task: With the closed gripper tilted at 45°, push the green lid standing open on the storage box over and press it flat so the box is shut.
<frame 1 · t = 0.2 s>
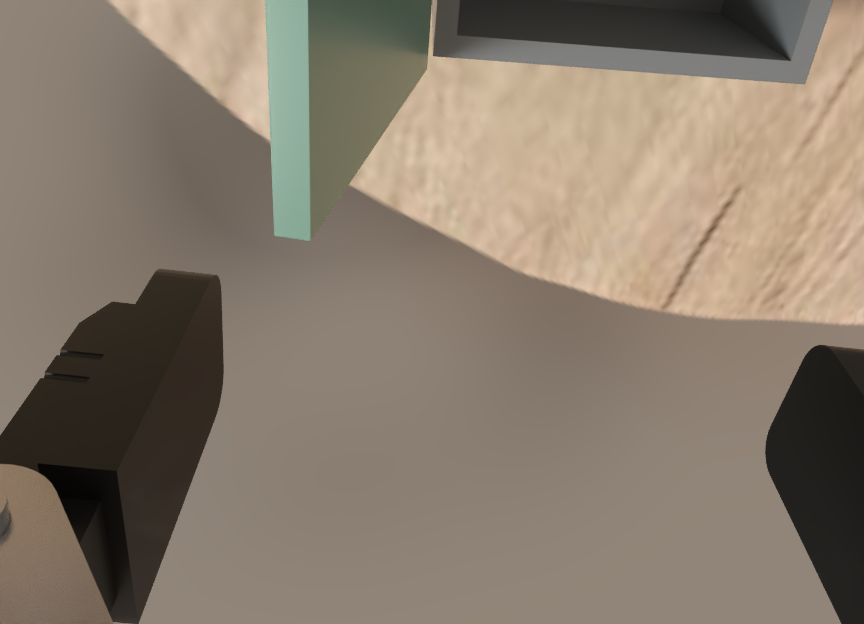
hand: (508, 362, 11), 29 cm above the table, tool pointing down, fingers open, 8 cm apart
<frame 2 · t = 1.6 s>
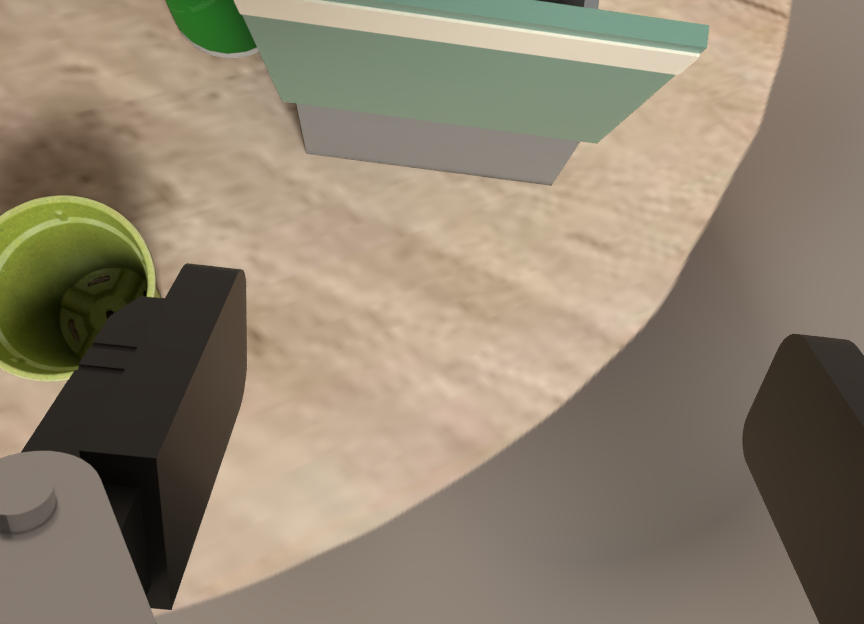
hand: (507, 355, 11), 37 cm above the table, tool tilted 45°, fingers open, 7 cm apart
storage box: (441, 71, 51), on the table
soda can: (234, 16, 51), on the table
lid: (453, 72, 34), point 16 cm above the table, hinge at 100.0°
plant pot: (114, 318, 47), on the table
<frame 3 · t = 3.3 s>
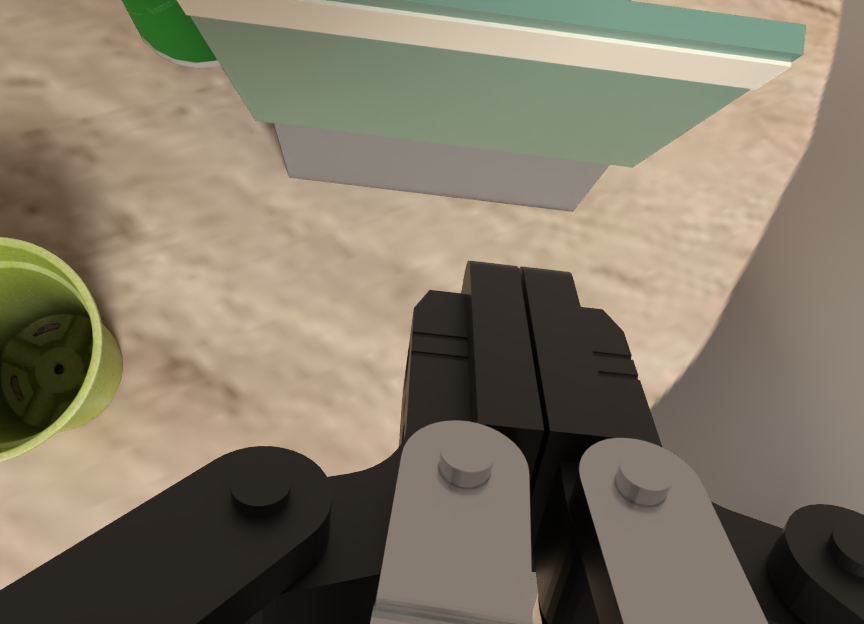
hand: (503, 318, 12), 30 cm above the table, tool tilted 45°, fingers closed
storage box: (444, 80, 45), on the table
soda can: (206, 19, 45), on the table
lid: (463, 86, 27), point 16 cm above the table, hinge at 100.0°
plant pot: (65, 373, 40), on the table
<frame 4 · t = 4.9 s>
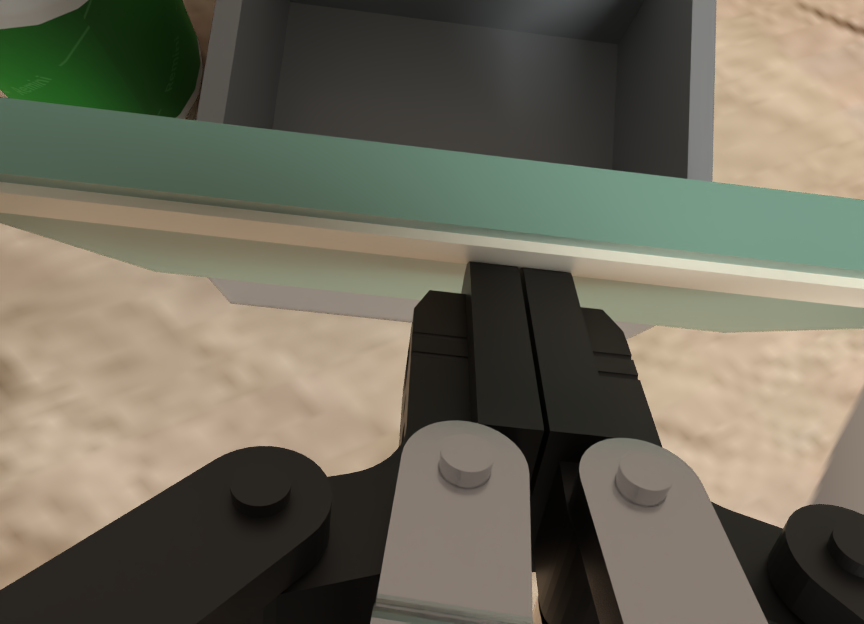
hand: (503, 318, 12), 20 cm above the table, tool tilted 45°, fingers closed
storage box: (441, 164, 33), on the table
soda can: (120, 83, 33), on the table
lid: (477, 267, 16), point 16 cm above the table, hinge at 98.6°, touching gripper
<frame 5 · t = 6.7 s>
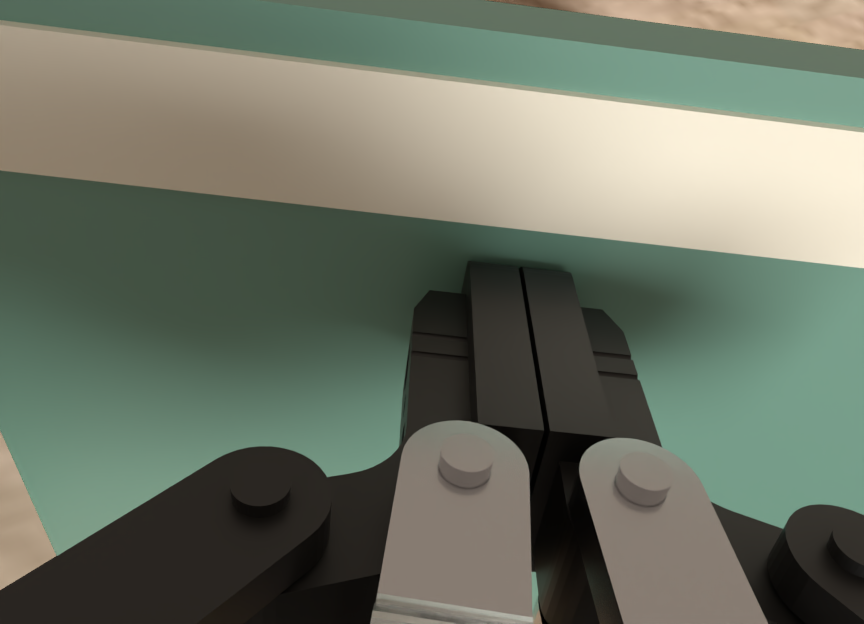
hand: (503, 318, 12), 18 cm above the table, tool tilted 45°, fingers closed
lid: (469, 410, 14), point 15 cm above the table, hinge at 55.7°, touching gripper
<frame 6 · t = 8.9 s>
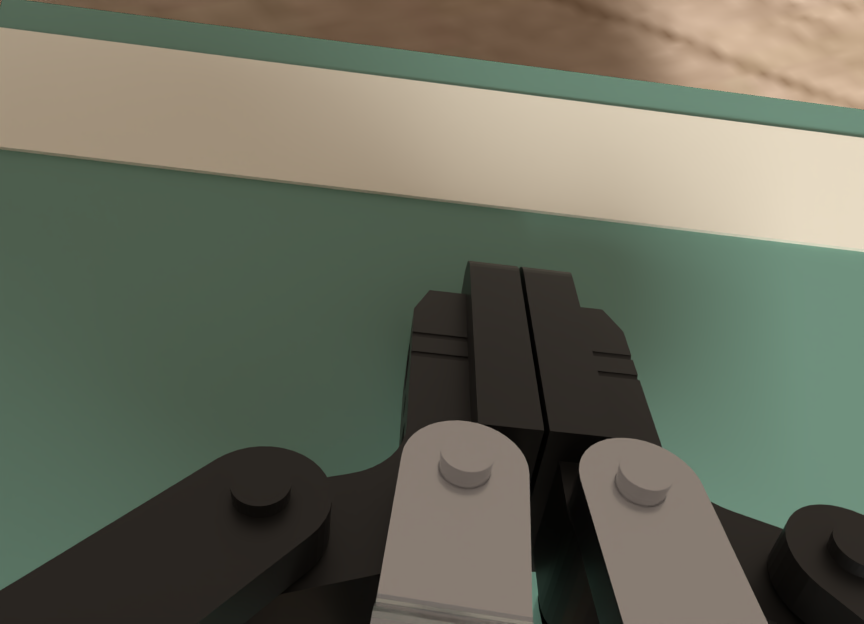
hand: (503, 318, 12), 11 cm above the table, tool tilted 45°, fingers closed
lid: (475, 493, 12), point 10 cm above the table, hinge at -0.8°, touching gripper
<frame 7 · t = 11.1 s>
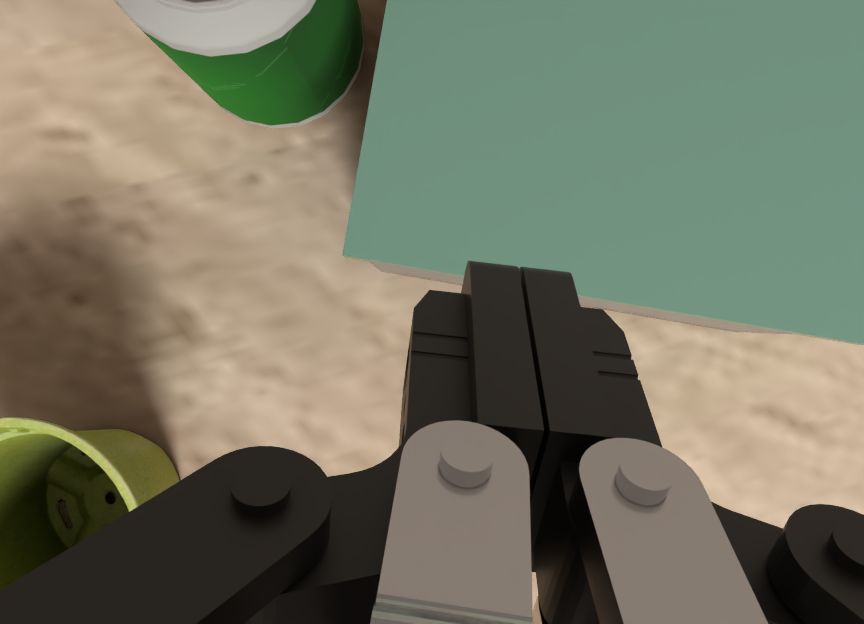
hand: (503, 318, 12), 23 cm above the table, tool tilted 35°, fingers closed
storage box: (584, 146, 34), on the table
soda can: (284, 53, 35), on the table
lid: (639, 82, 25), point 10 cm above the table, hinge at -0.8°
plant pot: (118, 496, 35), on the table
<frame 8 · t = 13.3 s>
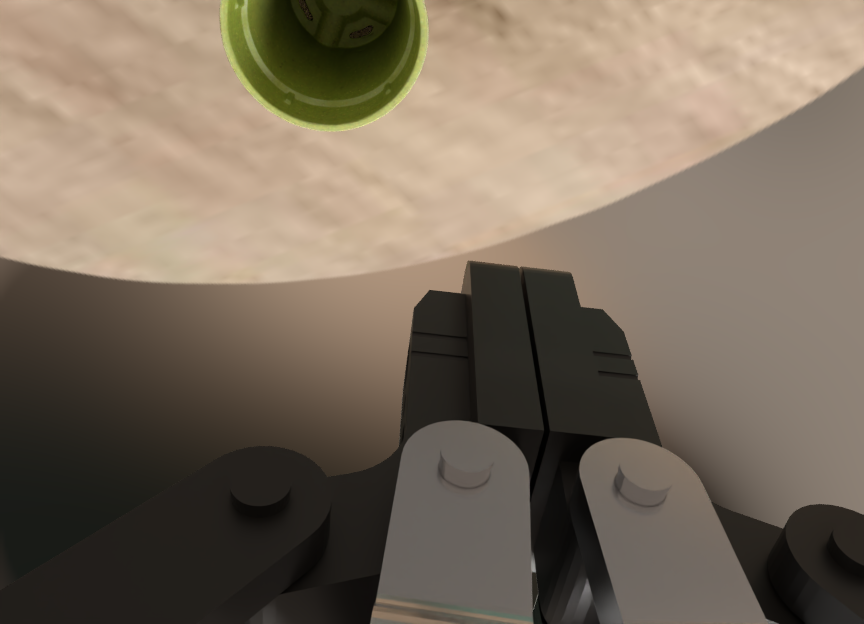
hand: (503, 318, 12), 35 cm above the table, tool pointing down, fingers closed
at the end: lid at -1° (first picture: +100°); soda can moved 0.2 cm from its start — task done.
